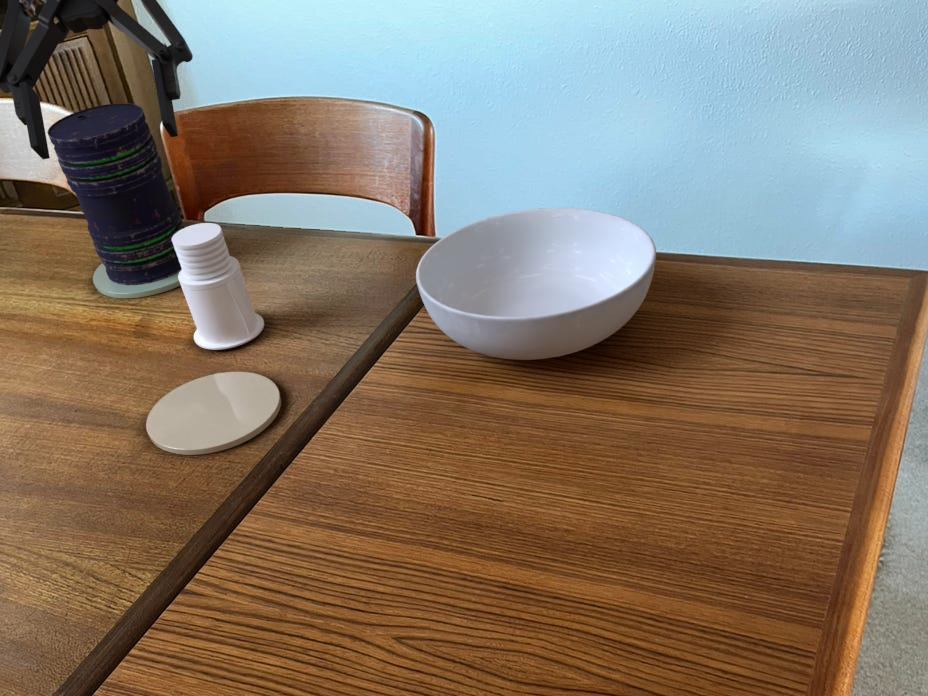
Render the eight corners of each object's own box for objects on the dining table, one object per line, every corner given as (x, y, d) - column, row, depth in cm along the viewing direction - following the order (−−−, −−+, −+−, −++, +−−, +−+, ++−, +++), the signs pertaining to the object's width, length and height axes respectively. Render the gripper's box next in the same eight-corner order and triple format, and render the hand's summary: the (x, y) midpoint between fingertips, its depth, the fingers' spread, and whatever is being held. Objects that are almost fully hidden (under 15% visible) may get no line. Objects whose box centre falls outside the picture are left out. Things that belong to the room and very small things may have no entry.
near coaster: (128, 457, 83) (125, 451, 82) (175, 379, 91) (172, 373, 90) (260, 453, 81) (258, 447, 80) (296, 374, 89) (294, 368, 88)
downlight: (178, 340, 96) (140, 241, 89) (231, 308, 99) (199, 211, 92) (228, 360, 92) (193, 259, 85) (282, 326, 95) (252, 226, 88)
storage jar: (211, 255, 107) (163, 110, 96) (138, 294, 103) (79, 146, 92) (161, 236, 113) (110, 97, 102) (89, 272, 108) (28, 131, 97)
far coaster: (76, 301, 105) (73, 296, 104) (120, 246, 114) (118, 241, 113) (187, 295, 103) (185, 289, 102) (224, 239, 111) (222, 234, 111)
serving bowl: (699, 343, 84) (703, 267, 79) (479, 420, 80) (468, 345, 75) (589, 253, 98) (586, 184, 93) (397, 315, 94) (383, 246, 89)
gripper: (200, -61, 102) (234, 138, 103) (-31, -21, 103) (4, 178, 103) (177, -115, 95) (214, 101, 95) (-72, -71, 95) (-34, 144, 96)
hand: (105, 141), depth 99 cm, fingers open, 13 cm apart
